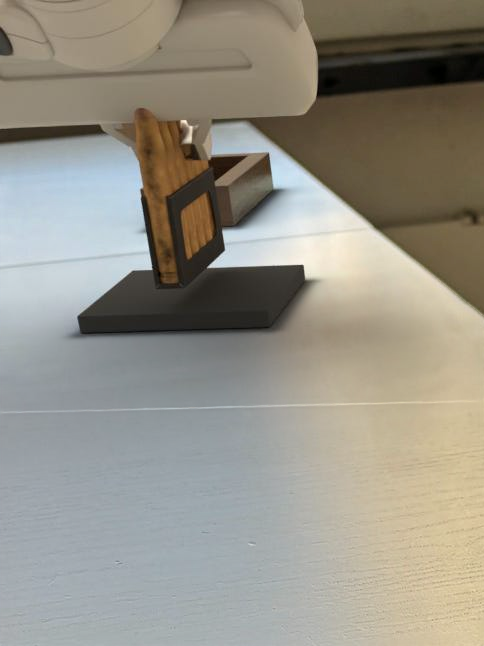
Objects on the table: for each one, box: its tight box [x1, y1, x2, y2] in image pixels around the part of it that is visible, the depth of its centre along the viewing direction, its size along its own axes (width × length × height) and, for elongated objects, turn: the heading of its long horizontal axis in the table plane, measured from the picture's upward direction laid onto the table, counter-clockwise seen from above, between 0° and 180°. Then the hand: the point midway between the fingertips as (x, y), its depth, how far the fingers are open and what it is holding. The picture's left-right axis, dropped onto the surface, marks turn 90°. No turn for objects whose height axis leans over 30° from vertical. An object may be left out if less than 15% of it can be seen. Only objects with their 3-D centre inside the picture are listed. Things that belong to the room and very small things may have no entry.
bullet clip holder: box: [139, 151, 275, 228], centre depth 114 cm, size 7×16×3 cm, turn 175°
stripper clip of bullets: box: [134, 108, 226, 289], centre depth 83 cm, size 11×2×12 cm, turn 175°
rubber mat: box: [76, 264, 306, 334], centre depth 88 cm, size 12×12×1 cm
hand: (176, 152), depth 83 cm, fingers closed on stripper clip of bullets, 2 cm apart
